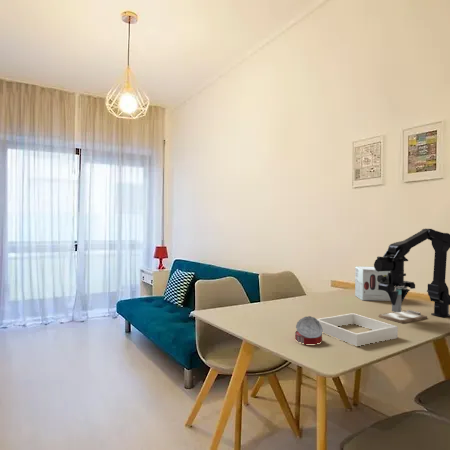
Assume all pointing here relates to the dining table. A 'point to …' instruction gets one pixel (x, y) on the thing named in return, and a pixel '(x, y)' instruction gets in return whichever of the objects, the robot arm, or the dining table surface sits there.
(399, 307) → the marker
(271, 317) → the dining table surface
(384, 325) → the lotus tray rim
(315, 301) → the dining table surface
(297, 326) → the canned food
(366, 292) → the supplement box
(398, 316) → the clipboard
